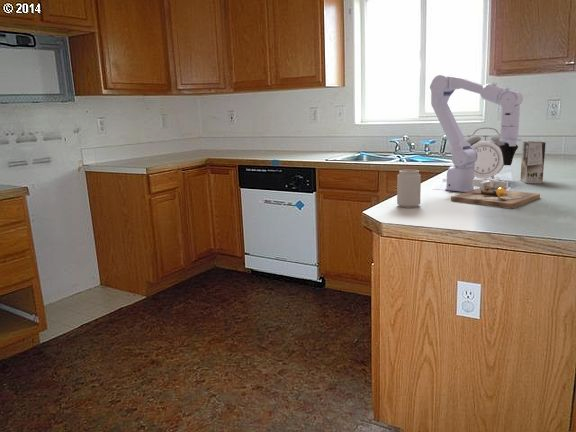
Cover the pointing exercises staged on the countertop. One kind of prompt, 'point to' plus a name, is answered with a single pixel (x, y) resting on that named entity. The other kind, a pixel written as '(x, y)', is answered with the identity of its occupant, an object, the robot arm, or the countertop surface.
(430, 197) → the countertop surface
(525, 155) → the coffee box
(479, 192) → the lever board
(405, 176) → the can
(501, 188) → the capstan
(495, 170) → the alarm clock
